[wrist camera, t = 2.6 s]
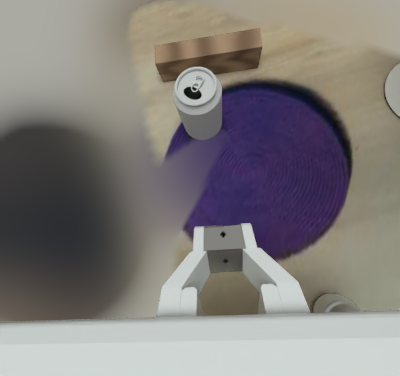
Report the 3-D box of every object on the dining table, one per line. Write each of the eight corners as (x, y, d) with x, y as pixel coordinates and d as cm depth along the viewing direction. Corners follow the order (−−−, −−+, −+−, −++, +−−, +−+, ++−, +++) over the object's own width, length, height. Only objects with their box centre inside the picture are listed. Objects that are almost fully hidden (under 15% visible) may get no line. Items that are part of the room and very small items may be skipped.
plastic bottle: (317, 338, 32) (471, 531, 12) (302, 293, 33) (419, 402, 13) (357, 328, 31) (588, 514, 11) (341, 284, 32) (522, 382, 13)
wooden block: (255, 50, 41) (259, 27, 36) (257, 67, 40) (262, 46, 35) (162, 65, 43) (154, 45, 38) (163, 81, 42) (155, 63, 38)
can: (178, 132, 40) (160, 95, 28) (197, 101, 41) (186, 53, 29) (210, 148, 39) (204, 117, 27) (229, 116, 39) (231, 72, 28)
